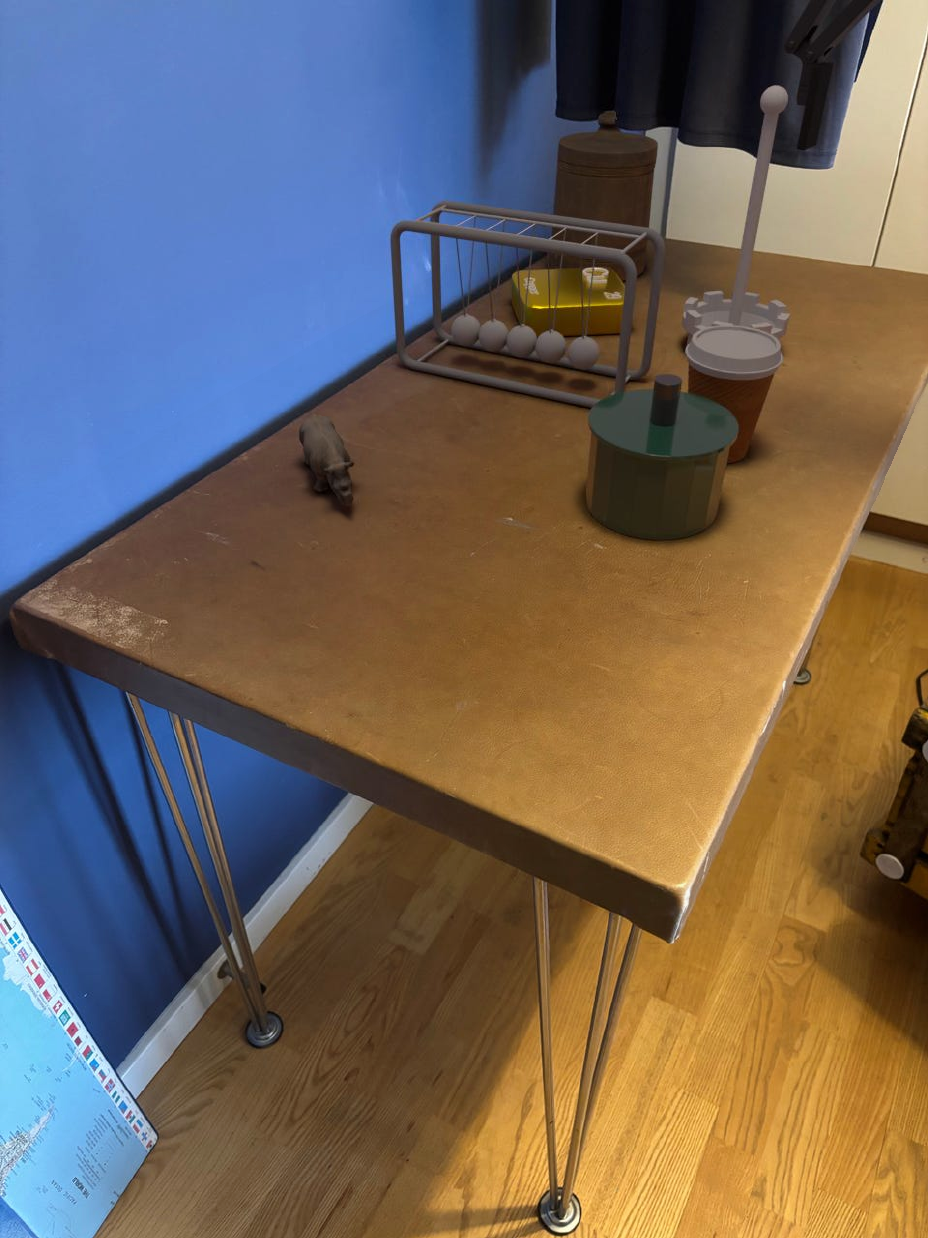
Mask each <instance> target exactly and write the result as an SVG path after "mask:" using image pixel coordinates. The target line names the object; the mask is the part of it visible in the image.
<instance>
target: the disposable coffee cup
mask: <svg viewBox="0 0 928 1238" xmlns="http://www.w3.org/2000/svg"><path fill="white" fill-rule="evenodd" d="M684 353H685V356H686V360H687V361H686V362H687V363H688V366H687V367H688V372H687V373H688V376H687V393H691V394H695V395H698V396H701V397H705V398H707V399H710V400H712V401H714V402H716V403H718V404H720V405H721V406H723V407H725V408H726V409H727V410H728V411H730V412H731V413H732V414H733V416H734V417H735V418H736V420H737V423H738V427H739V430H738V435H737V438H736V440H735V442H734V443H733V444H732V445H731V446H730V449H729V454H728V459H727V464H732V463H737V462H739V461H741V460H742V459H744V458H745V457H746V455H747V453H748V449H749V447H750V443H751V442H752V438H753V436H754V433H755V429H756V427H757V425H758V421H759V419H760V416H761V413H762V410H763V407H764V405H765V402H766V399H767V397H768V393H769V390H770V388H771V385H772V382H773V380H774V375H775V374H776V373H777V371H778V370H779V368H780V366H782V364H783V362H784V356H783V353H782V345H781V342H780V340H778V339H777V338H776V337H774V336H773V335H771V334H769V333H767V332H765V331H762V330H759V329H755V328H750V327H745V326H734V325H723V326H712V327H707V328H704V329H701V330H699V331H697V332H696V333H695V334H694V335H693V337H692V340H691V342H690V343H689V344H688V345H687V344H686V347H685V352H684Z"/></svg>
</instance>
